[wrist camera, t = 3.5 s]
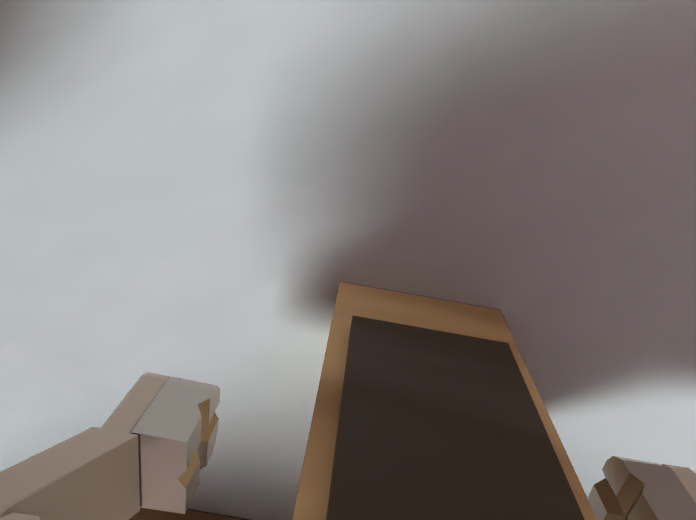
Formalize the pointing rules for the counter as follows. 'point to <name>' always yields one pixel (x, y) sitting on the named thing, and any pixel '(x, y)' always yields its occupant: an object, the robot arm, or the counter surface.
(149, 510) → the wooden block holder
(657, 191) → the counter surface
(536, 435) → the block
